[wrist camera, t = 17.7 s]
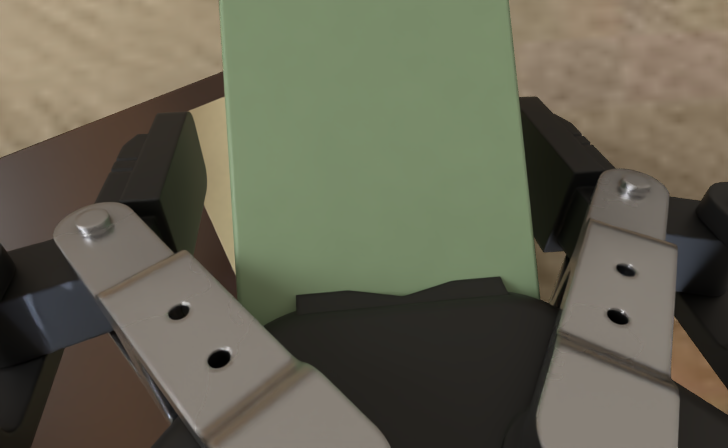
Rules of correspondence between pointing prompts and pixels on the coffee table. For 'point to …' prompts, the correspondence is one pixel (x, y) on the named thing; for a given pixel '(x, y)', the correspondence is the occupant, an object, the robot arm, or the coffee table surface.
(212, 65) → the coffee table surface
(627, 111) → the coffee table surface
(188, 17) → the coffee table surface
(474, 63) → the sage block
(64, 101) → the coffee table surface
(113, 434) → the walnut board
